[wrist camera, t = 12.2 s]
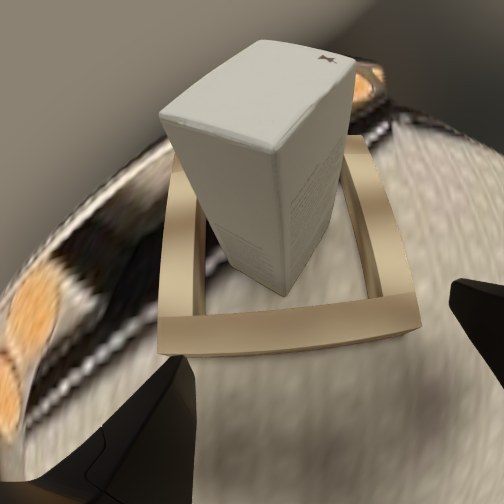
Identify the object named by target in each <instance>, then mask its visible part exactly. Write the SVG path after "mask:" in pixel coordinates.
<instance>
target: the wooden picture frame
mask: <svg viewBox="0 0 504 504" xmlns="http://www.w3.org/2000/svg"><path fill="white" fill-rule="evenodd" d="M339 178H340V182H341V185H342V188H343V192H344V195H345V199H346V202H347V206H348V209H349V213H350V217H351V221H352V225H353V229H354V233H355V237H356V241H357V245H358V249H359V254H360V258H361V263H362V267H363V272H364V277H365V282H366V287H367V292H368V298H369V299H365V300H358V301H351V302H343V303H335V304H327V305H319V306H311V307H301V308H292V309H282V310H271V311H260V312H247V313H234V314H218V315H205V240H206V215H205V213H204V211H203V209H202V207H201V205H200V203H199V201H198V199H197V197H196V195H195V193H194V191H193V189H192V187H191V184H190V182H189V180H188V178H187V176H186V174H185V172H184V170H183V168H182V166H181V164H180V161H179V159H178V157H177V155H176V153H175V155H174V161H173V167H172V173H171V179H170V186H169V193H168V201H167V208H166V216H165V225H164V235H163V245H162V256H161V268H160V283H159V301H158V330H157V354H161V355H166V356H170V357H171V356H175V355H185V357H186V358H194V357H233V356H252V355H266V354H278V353H289V352H299V351H308V350H316V349H324V348H331V347H338V346H345V345H351V344H357V343H363V342H369V341H374V340H379V339H385V338H390V337H394V336H399V335H404V334H406V333H409V332H411V331H413V330H416V329H418V328H420V327H422V324H421V318H420V313H419V308H418V303H417V298H416V293H415V289H414V284H413V280H412V276H411V272H410V268H409V264H408V260H407V257H406V253H405V250H404V246H403V243H402V239H401V236H400V233H399V230H398V226H397V223H396V220H395V217H394V214H393V211H392V208H391V206H390V203H389V200H388V197H387V194H386V192H385V189H384V186H383V184H382V181H381V179H380V176H379V174H378V171H377V169H376V166H375V164H374V162H373V159H372V157H371V155H370V152H369V150H368V148H367V146H366V143H365V141H364V139H363V137H362V135H347V138H346V145H345V150H344V155H343V160H342V166H341V171H340V176H339Z"/></svg>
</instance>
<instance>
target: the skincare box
mask: <svg viewBox="0 0 504 504" xmlns="http://www.w3.org/2000/svg"><path fill="white" fill-rule="evenodd" d="M356 65H357V64H356V61H355V60H354V59H352V58H349V57H346V56H342V55H339V54H335V53H331V52H327V51H323V50H319V49H314V48H310V47H306V46H301V45H296V44H291V43H286V42H279V41H270V40H259V41H257V42H255V43H254V44H252V45H251V46H249V47H248V48H246V49H245V50H243V51H242V52H240V53H238V54H237V55H235V56H234V57H232V58H231V59H229V60H228V61H226V62H225V63H223V64H222V65H220V66H219V67H217V68H216V69H214V70H213V71H211V72H210V73H208V74H207V75H206V76H204V77H203V78H202V79H200V80H199V81H198V82H196V83H195V84H194V85H192V86H191V87H190V88H188V89H187V90H186V91H185V92H183V93H182V94H181V95H180V96H178V97H177V98H176V99H175V100H173V101H172V102H171V103H170V104H169V105H167V106H166V107H165V108H164V109H162V110H161V111H160V112H159V119H160V121H161V123H162V125H163V127H164V129H165V132H166V134H167V136H168V138H169V140H170V142H171V144H172V146H173V149H174V151H175V153H176V155H177V157H178V159H179V161H180V164H181V166H182V168H183V170H184V172H185V174H186V176H187V178H188V180H189V182H190V184H191V187H192V189H193V191H194V193H195V195H196V197H197V199H198V201H199V203H200V205H201V207H202V209H203V211H204V213H205V215H206V217H207V219H208V221H209V223H210V225H211V227H212V229H213V231H214V233H215V235H216V237H217V239H218V241H219V243H220V245H221V247H222V249H223V251H224V253H225V255H226V257H227V259H228V261H229V263H230V265H231V266H232V267H234V268H235V269H237V270H239V271H241V272H243V273H244V274H246V275H248V276H249V277H251V278H253V279H254V280H256V281H258V282H259V283H261V284H263V285H264V286H266V287H268V288H270V289H271V290H273V291H275V292H276V293H278V294H280V295H282V296H284V297H285V296H286V295H287V294H288V292H289V291H290V289H291V288H292V286H293V284H294V283H295V281H296V279H297V278H298V276H299V275H300V273H301V271H302V270H303V268H304V266H305V265H306V263H307V261H308V260H309V258H310V256H311V255H312V253H313V251H314V249H315V248H316V246H317V244H318V243H319V241H320V239H321V237H322V236H323V234H324V232H325V230H326V229H327V227H328V225H329V223H330V218H331V214H332V210H333V205H334V201H335V196H336V191H337V186H338V181H339V176H340V171H341V166H342V160H343V155H344V150H345V145H346V138H347V132H348V126H349V119H350V113H351V107H352V101H353V95H354V86H355V76H356Z"/></svg>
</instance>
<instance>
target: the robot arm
mask: <svg viewBox="0 0 504 504" xmlns="http://www.w3.org/2000/svg"><path fill="white" fill-rule="evenodd" d="M449 307H450V309H451V311H452V312H453V314H454V315H455V317H456V318H457V320H458V321H459V323H460V325H461V326H462V328H463V329H464V331H465V333H466V334H467V336H468V338H469V339H470V340H471V342H472V343H473V345H474V346H475V347H476V349H477V350H478V352H479V353H480V354H481V356H482V357H483V359H484V360H485V361H486V363H487V364H488V366H489V367H490V369H491V370H492V372H493V373H494V375H495V376H496V378H497V379H498V381H499V382H500V384H501V386H502V387H503V389H504V286H503V285H498V284H492V283H487V282H481V281H475V280H470V279H464V278H460V279H457V280H455V281H453V282H452V284H451V289H450V297H449ZM196 428H197V412H196V386H195V376H194V373H193V371H192V369H191V367H190V365H189V362H188V360H187V358H186V357H185V355H175V356H171V357H170V358H169V359H168V360H167V361H166V362H165V363H164V364H163V365H162V366H161V367H160V368H159V369H158V370H157V371H156V372H155V373H154V374H153V375H152V376H151V377H150V378H149V379H148V380H147V381H146V382H145V383H144V384H143V385H142V386H141V387H140V388H139V389H138V390H137V391H136V392H135V393H134V394H133V395H132V396H131V397H130V398H129V399H128V400H127V401H126V402H125V403H124V404H123V405H122V406H121V407H120V408H119V409H118V410H117V411H116V412H115V413H114V414H113V415H112V416H111V417H110V418H109V419H108V420H107V421H106V422H105V423H104V424H103V425H102V427H100V428H99V429H98V430H97V431H96V432H95V433H94V434H93V435H92V436H90V437H89V438H88V439H87V440H86V441H85V442H84V443H83V444H82V445H81V446H79V447H78V448H77V449H76V450H75V451H73V452H72V453H71V454H70V455H69V456H67V457H66V458H65V459H63V460H62V461H61V462H60V463H58V464H57V465H56V466H54V467H53V468H52V469H51V470H49V471H48V472H47V473H45V474H44V475H42V476H41V477H39V478H37V479H34V480H31V481H25V482H0V504H192V489H193V471H194V455H195V441H196Z"/></svg>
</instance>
